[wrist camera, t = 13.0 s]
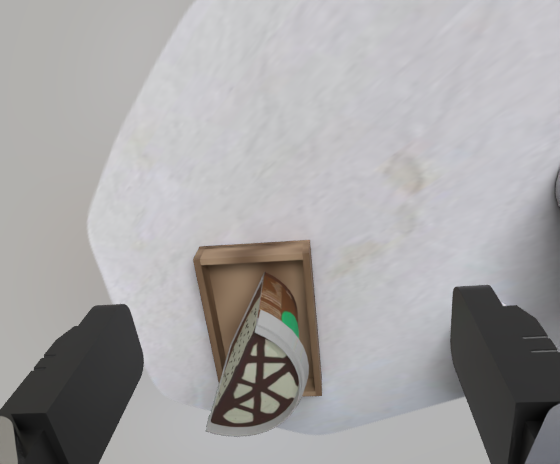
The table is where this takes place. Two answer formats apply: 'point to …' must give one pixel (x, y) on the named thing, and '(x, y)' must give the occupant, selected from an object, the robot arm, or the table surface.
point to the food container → (261, 366)
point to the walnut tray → (242, 285)
